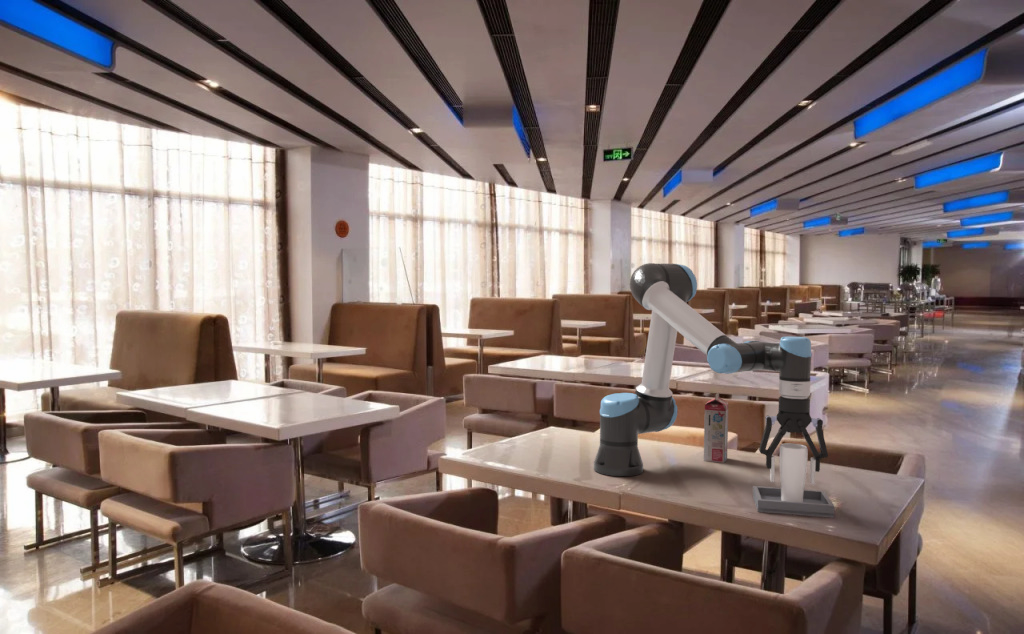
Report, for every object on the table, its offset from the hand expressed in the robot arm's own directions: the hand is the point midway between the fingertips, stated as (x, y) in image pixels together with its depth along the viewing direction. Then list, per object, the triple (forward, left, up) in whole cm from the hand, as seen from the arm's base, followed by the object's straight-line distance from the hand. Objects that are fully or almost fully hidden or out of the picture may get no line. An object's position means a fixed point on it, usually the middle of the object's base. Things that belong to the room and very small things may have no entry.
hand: (792, 482), depth 182 cm
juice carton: (-17, +46, -7) cm, 50 cm away
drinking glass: (0, 0, -6) cm, 6 cm away
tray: (0, 0, -7) cm, 7 cm away
